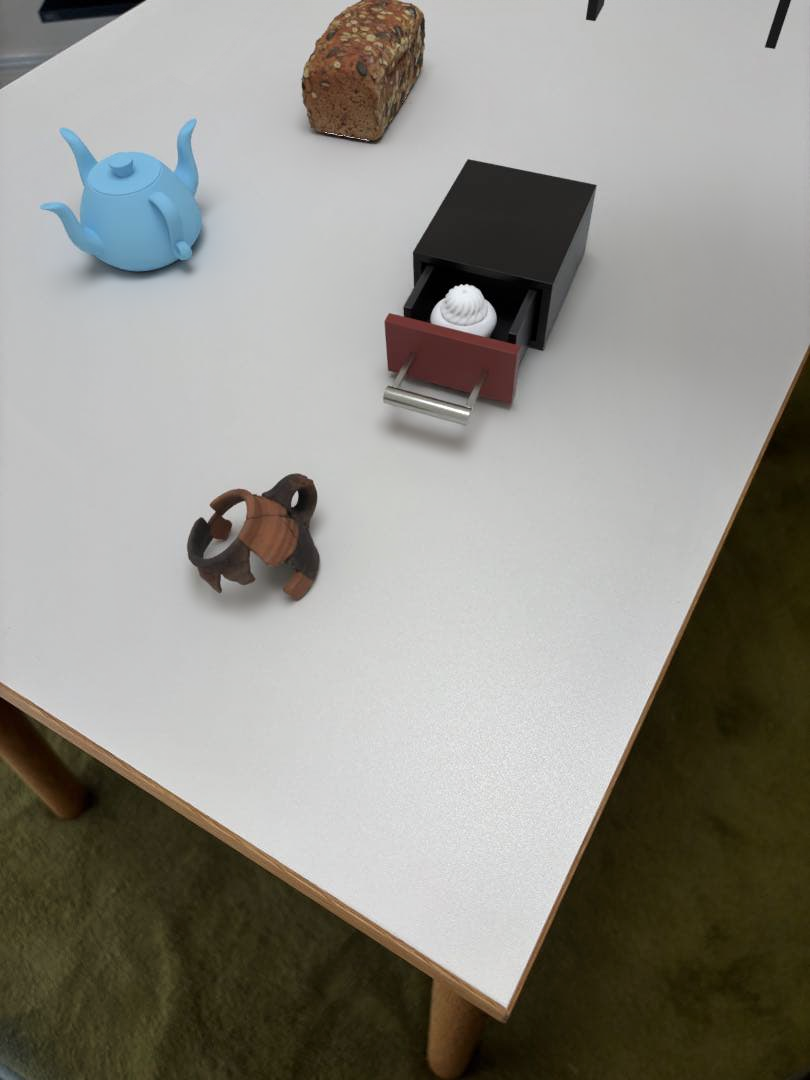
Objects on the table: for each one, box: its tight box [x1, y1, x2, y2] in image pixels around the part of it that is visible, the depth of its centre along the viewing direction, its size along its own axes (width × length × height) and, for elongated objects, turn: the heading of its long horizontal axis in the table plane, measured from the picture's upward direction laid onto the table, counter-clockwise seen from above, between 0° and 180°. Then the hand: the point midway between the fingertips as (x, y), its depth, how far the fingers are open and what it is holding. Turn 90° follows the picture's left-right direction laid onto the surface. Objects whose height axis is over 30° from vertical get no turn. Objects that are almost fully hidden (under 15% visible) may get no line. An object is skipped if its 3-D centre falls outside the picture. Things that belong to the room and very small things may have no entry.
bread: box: [300, 0, 426, 142], centre depth 103 cm, size 19×11×10 cm, turn 161°
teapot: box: [39, 118, 203, 272], centre depth 89 cm, size 15×15×10 cm
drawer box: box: [412, 158, 597, 351], centre depth 84 cm, size 16×14×8 cm
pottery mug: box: [186, 472, 321, 601], centre depth 68 cm, size 12×10×8 cm
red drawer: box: [382, 263, 542, 427], centre depth 78 cm, size 21×13×6 cm, turn 158°
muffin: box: [430, 284, 497, 338], centre depth 77 cm, size 6×6×7 cm
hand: (681, 26), depth 63 cm, fingers open, 13 cm apart
